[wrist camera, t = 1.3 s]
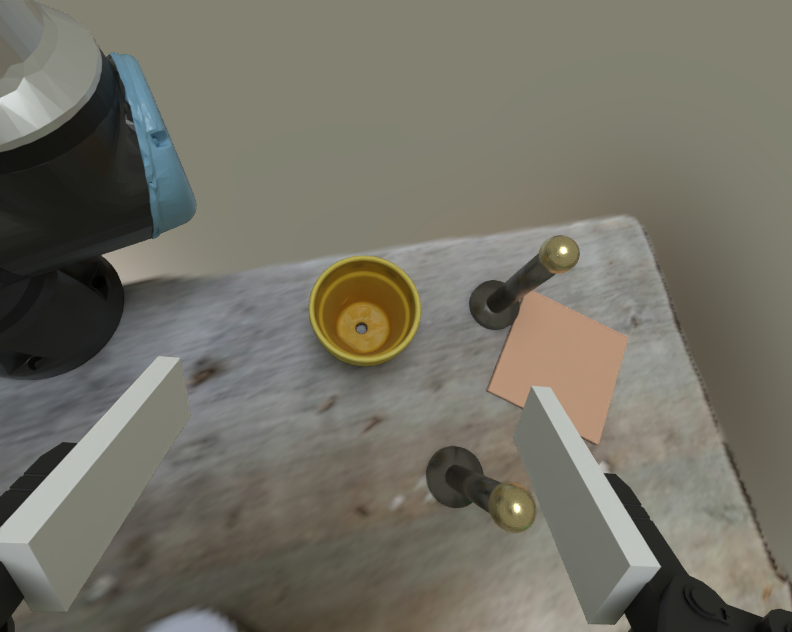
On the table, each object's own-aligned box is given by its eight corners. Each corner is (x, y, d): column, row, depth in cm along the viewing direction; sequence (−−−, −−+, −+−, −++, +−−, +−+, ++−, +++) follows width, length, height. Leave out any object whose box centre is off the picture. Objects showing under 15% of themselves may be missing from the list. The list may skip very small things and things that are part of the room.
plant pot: (330, 386, 42) (324, 376, 32) (307, 300, 44) (296, 268, 35) (417, 360, 44) (436, 344, 34) (391, 279, 46) (402, 243, 37)
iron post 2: (417, 490, 40) (464, 539, 24) (439, 436, 42) (496, 448, 26) (468, 515, 40) (549, 581, 24) (488, 460, 42) (576, 487, 26)
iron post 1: (462, 316, 46) (523, 260, 30) (479, 275, 47) (547, 201, 31) (506, 337, 46) (592, 293, 30) (522, 296, 47) (612, 233, 31)
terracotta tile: (486, 390, 44) (488, 390, 43) (525, 289, 48) (527, 287, 47) (595, 444, 44) (598, 444, 43) (625, 338, 48) (628, 337, 47)
